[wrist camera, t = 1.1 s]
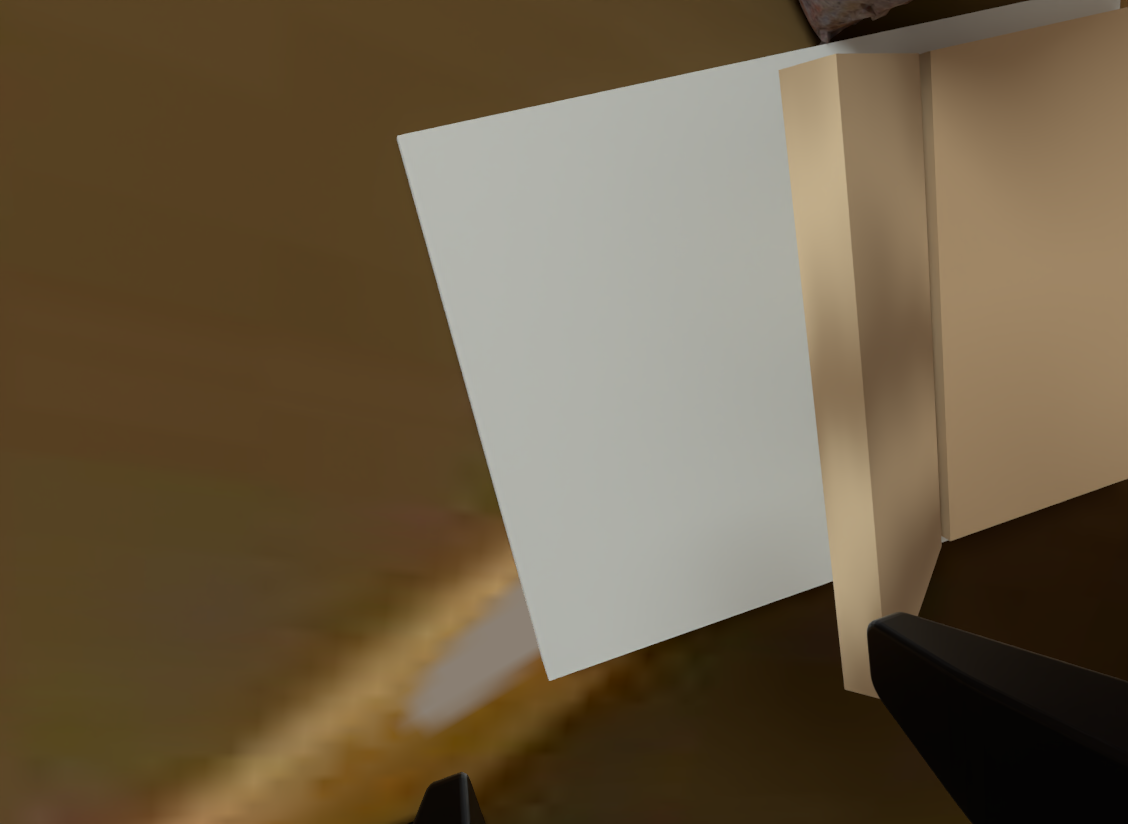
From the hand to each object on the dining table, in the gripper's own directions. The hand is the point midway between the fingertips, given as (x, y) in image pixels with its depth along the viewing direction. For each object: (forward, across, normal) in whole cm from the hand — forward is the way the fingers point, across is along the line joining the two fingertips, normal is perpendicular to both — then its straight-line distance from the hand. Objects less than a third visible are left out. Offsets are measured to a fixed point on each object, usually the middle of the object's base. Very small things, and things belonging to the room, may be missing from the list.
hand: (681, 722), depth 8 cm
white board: (+12, -9, 0) cm, 15 cm away
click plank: (+8, -8, 0) cm, 12 cm away
